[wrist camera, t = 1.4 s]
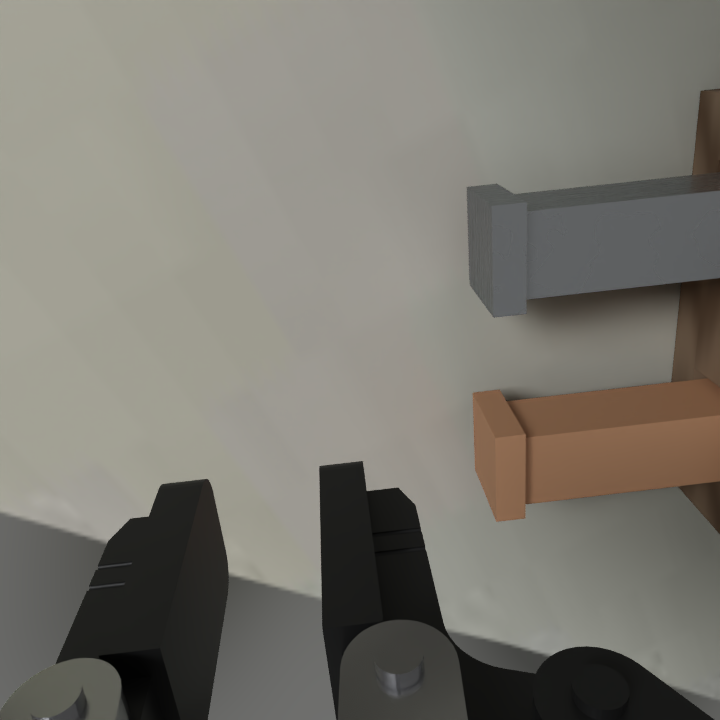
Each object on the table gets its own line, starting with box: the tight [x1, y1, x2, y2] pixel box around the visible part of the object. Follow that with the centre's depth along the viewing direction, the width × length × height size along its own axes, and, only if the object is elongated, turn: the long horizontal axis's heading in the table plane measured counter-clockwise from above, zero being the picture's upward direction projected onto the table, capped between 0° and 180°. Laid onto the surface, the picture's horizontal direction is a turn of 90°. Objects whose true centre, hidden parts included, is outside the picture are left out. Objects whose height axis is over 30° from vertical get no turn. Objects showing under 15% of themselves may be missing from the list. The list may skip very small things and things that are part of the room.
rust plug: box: [473, 378, 720, 522], centre depth 29 cm, size 4×13×4 cm, turn 96°
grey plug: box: [467, 172, 720, 317], centre depth 26 cm, size 4×13×4 cm, turn 95°
